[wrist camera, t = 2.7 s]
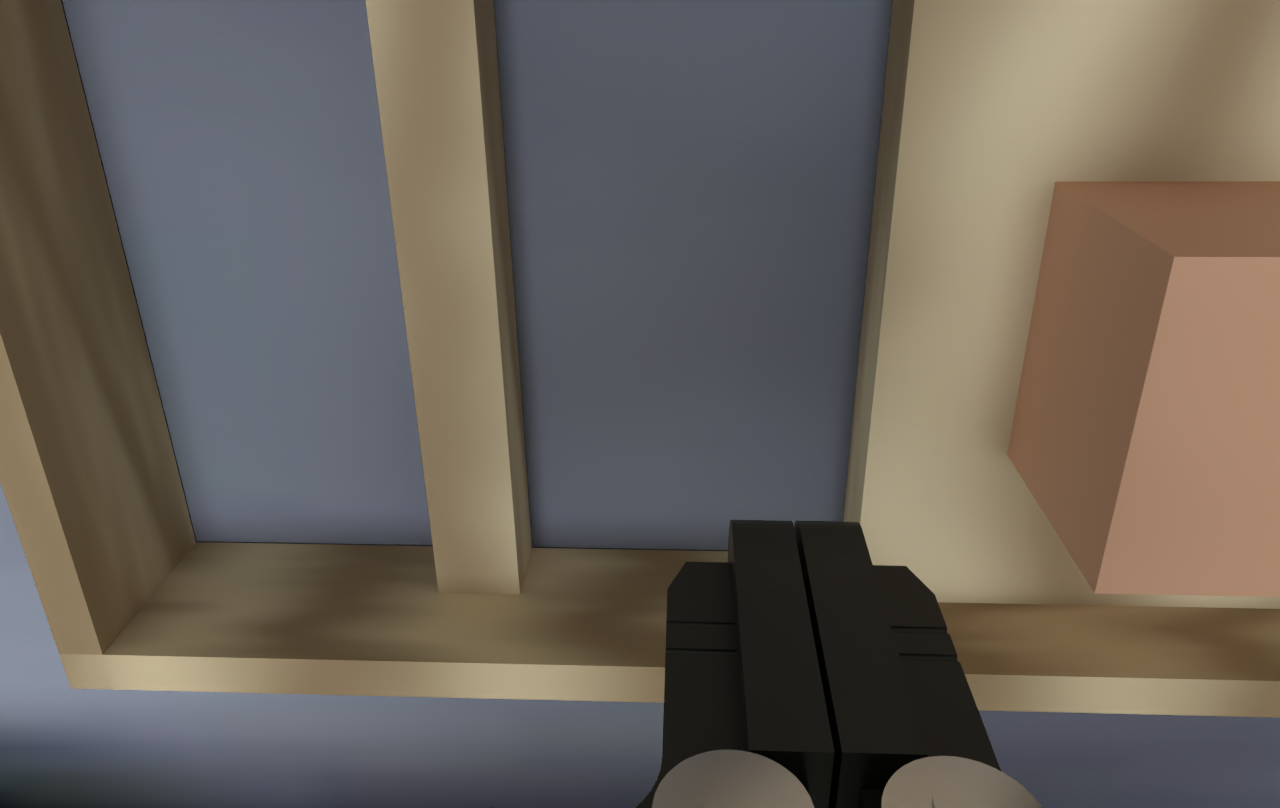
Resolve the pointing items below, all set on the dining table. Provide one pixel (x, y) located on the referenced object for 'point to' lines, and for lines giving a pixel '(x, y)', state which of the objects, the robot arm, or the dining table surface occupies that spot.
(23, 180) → the trap lane
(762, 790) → the robot arm
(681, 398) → the dining table surface
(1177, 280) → the block
